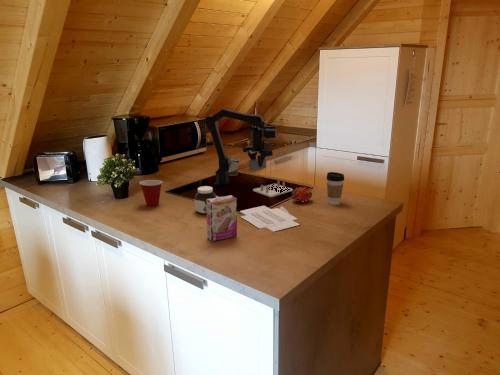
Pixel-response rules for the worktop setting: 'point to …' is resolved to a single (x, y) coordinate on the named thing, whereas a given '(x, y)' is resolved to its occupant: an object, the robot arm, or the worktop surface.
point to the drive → (256, 164)
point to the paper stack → (269, 218)
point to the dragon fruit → (301, 194)
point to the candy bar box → (221, 218)
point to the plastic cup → (151, 192)
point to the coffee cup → (334, 187)
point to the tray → (272, 193)
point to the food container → (233, 167)
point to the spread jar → (203, 199)
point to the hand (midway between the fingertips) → (257, 166)
